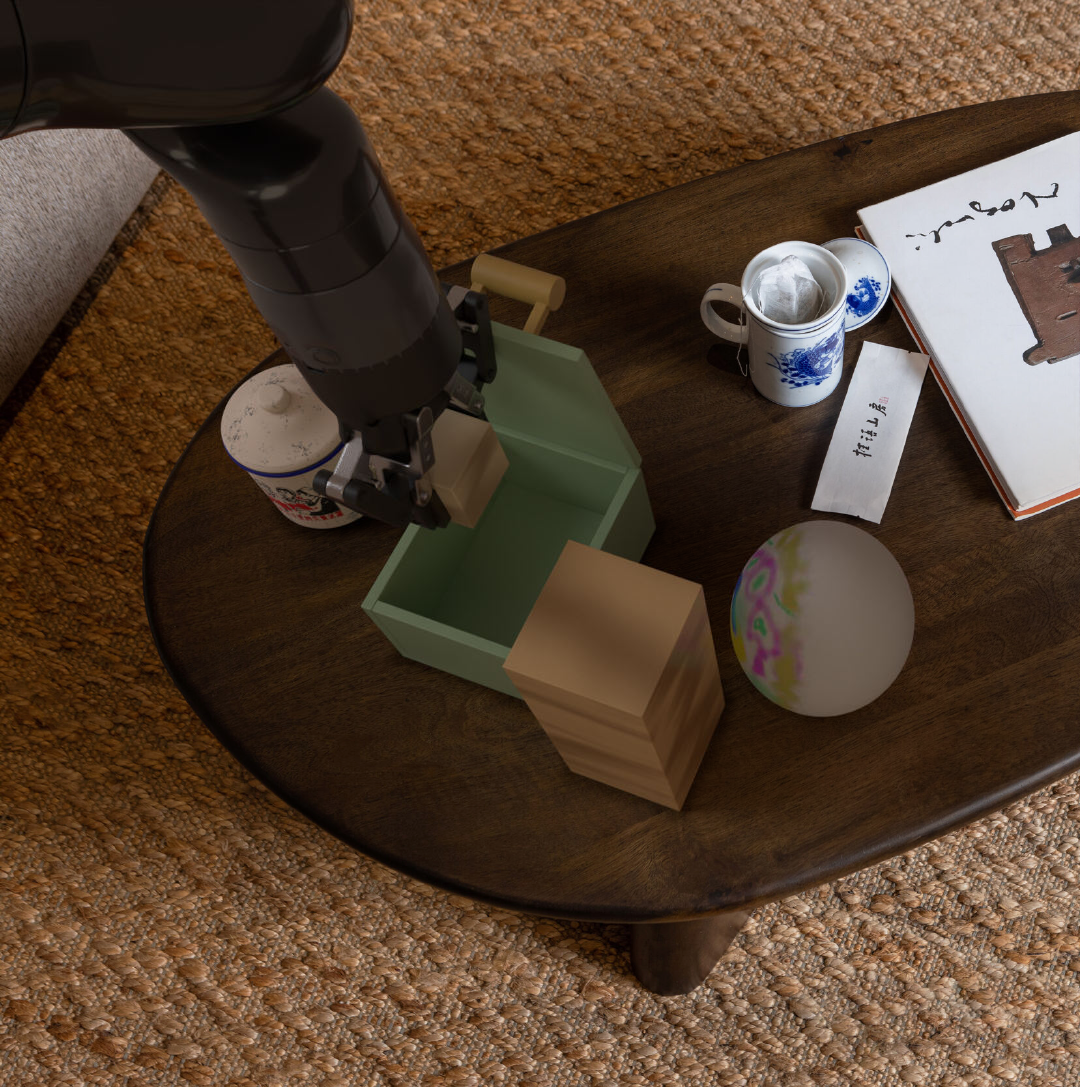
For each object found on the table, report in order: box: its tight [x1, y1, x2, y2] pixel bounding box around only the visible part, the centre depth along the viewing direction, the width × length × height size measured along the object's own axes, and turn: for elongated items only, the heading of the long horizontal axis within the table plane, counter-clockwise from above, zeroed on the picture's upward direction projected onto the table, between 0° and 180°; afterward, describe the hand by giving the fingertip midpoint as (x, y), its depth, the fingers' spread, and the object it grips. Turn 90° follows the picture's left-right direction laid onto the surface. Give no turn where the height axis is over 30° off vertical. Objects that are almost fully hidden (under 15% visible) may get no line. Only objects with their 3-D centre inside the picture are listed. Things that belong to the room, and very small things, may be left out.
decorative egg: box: [729, 519, 916, 718], centre depth 77 cm, size 12×12×15 cm
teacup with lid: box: [220, 363, 380, 530], centre depth 84 cm, size 12×9×12 cm
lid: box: [464, 253, 643, 469], centre depth 73 cm, size 16×13×5 cm
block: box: [399, 408, 509, 528], centre depth 67 cm, size 5×5×5 cm
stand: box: [503, 540, 726, 812], centre depth 72 cm, size 8×8×20 cm
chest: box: [360, 420, 657, 701], centre depth 81 cm, size 16×13×9 cm
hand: (454, 481), depth 68 cm, fingers closed on block, 4 cm apart
